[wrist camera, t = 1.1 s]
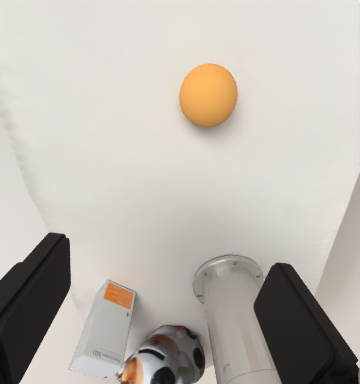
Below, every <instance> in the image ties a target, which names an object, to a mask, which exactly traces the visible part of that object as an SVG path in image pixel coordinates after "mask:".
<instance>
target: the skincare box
mask: <svg viewBox="0 0 360 384" xmlns="http://www.w3.org/2000/svg"><path fill="white" fill-rule="evenodd" d="M135 295H136V292H134V291H131V290H129V289H127V288H125V287H122V286H120V285H118V284H116V283H114V282H112V281H110V280H107V281H106V282H105V284H104V285H103V286H102V287H101V288H100V290H99V291H98V292H97V294H96V297H95V299H94V302H93V305H92V307H91V310H90V313H89V315H88V318H87V321H86V323H85V326H84V329H83V331H82V334H81V337H80V340H79V342H78V345H77V347H76V350H75V353H74V356H73V358H72V361H71V363H70V366H69V370H72V371H76V372H79V373H82V374H84V375H87V376H91V377H97V378H100V379H104V380H107V381H109V380H110V379H111V378H112V377H113V376H114V375H115V374H116V373H117V372H118V371H119V370H120V369H121V368H122V366H123V361H124V355H125V350H126V344H127V339H128V333H129V328H130V322H131V317H132V311H133V306H134V300H135Z"/></svg>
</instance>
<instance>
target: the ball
mask: <svg viewBox="0 0 360 384" xmlns="http://www.w3.org/2000/svg"><path fill="white" fill-rule="evenodd" d="M236 101H237V86H236V82H235V80H234V78H233V76H232V75H231V73H230V72H229V71H228V70H226V69H225V68H224V67H222V66H220V65H217V64H204V65H200V66H198V67H196V68H194V69H193V70H192V71H191V72H190V73H189V74H188V75H187V76H186V77H185V79H184V81H183V83H182V85H181V89H180V105H181V108H182V111H183V113H184V114H185V116H186V117H187V118H188V119H189V120H190V121H191V122H193V123H194V124H196V125H199V126H203V127H211V126H215V125H218V124H220V123H222V122H223V121H225V120H226V119H227V118H228V117H229V116H230V114H231V113H232V111H233V109H234V107H235V105H236Z"/></svg>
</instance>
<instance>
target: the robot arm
mask: <svg viewBox="0 0 360 384" xmlns="http://www.w3.org/2000/svg"><path fill="white" fill-rule="evenodd" d="M70 285H71V273H70V240H69V238H66V236H65V234H59V233H51V232H50V233H48V234H47V235H46V237H45V238H44V239H43V240H42V241H41V242H40V243H39V244H38V245H37V246H36V248H35V249H34V250H33V251H32V252H31V253H30V254H29V255H28V256H27V257H26V259H25V260H24V261H23V262H19V263H17V264H16V265H14V266H13V267H12V268H11V270H10V271H9V272H8V273H7V274H6V275H5V276H4V277H3V278H2V279H1V280H0V384H19V383H20V381H21V379H22V378H23V376H24V374H25V372H26V370H27V368H28V366H29V365H30V363H31V361H32V359H33V357H34V355H35V353H36V351H37V349H38V348H39V346H40V344H41V342H42V340H43V338H44V336H45V335H46V333H47V331H48V329H49V327H50V325H51V323H52V321H53V319H54V318H55V316H56V314H57V312H58V310H59V308H60V306H61V304H62V303H63V301H64V299H65V297H66V295H67V293H68V291H69V289H70ZM193 290H194V294H195V296H196V297H197V299H198V300H199V301H200V302H201V303H203V304H204V305H205V311H206V317H207V323H208V329H209V336H210V342H211V348H212V354H213V361H214V367H215V373H216V379H217V384H360V369H359V368H358V366H357V365H356V363H357V362H358V359H357V357H356V356H355V354H354V353H353V352H352V350H351V349H350V347H349V346H348V345H347V343H346V342H345V340H344V339H343V338H342V336H341V335H340V333H339V332H338V330H337V329H336V328H335V326H334V325H333V323H332V322H331V320H330V319H329V318H328V316H327V315H326V313H325V312H324V311H323V309H322V308H321V306H320V305H319V304H318V302H317V301H316V299H315V298H314V296H313V295H312V294H311V292H310V291H309V289H308V288H307V287H306V285H305V284H304V282H303V281H302V279H301V278H300V277H299V275H298V274H297V272H296V271H295V270H294V268H293V267H292V266H291V265H290V264H286V263H276V264H275V265H273V266H272V267H271V269H270V271H269V273H268V275H267V277H266V279H265V281H264V283H263V275H262V272H261V270H260V268H259V267H258V266H257V264H256V263H255V262H253V261H252V260H250V259H248V258H245V257H241V256H234V255H232V256H223V257H218V258H216V259H213V260H211V261H209V262H207V263H206V264H204V265H203V266H202V267H201V268H200V269H199V270H198V271H197V273H196V274H195V276H194V279H193Z"/></svg>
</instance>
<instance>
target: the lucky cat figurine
mask: <svg viewBox="0 0 360 384" xmlns="http://www.w3.org/2000/svg"><path fill="white" fill-rule="evenodd" d="M204 369H205V355H204V351H203V348H202V346H201V343H200V341H199V339H198V337H197V336H196V335H191V333H190V332H189V330H188V329H187V328H186V327H184V326H161V327H160V328H159V329H158V330H157V331H155V332H153V333H152V334H151V336H150V337H149V339H148V340H146V341H145V342H144V343H143V344H142V345H141V346H140V347H139V348H138V349H137V350H136V351H135V352H134V353H133V354H132V355H131V356H130V357H129V358H128V359H127V360H126V361H125V362H124V363H123V366H122V368H121V369H120V370H119V371H118V372H117V374H116V377H117V380H119V381H120V382H121V384H193V383H196V382H197V381H198V380H199V379H200V378H201V377H202V375H203V373H204Z"/></svg>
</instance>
